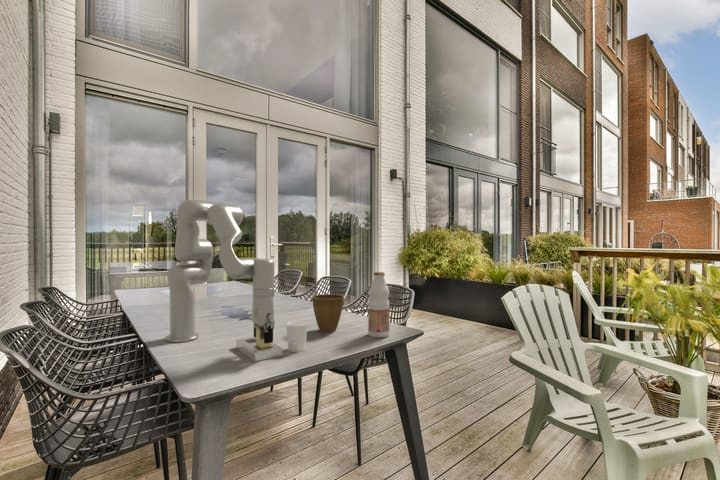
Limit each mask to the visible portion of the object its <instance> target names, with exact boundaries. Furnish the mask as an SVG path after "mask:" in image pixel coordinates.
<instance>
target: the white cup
mask: <svg viewBox="0 0 720 480" xmlns="http://www.w3.org/2000/svg"><path fill="white" fill-rule="evenodd" d="M285 327H286V341H287V351H289V352H291V353H292V352H293V353H298V352H303V351H305V350H306V347H307V346H306V345H307V336H308V335H307V334H308V333H307V332H308V322H306V321H302V320H297V321H295V320H294V321H289V322H287V323H286V326H285Z"/></svg>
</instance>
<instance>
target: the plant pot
mask: <svg viewBox="0 0 720 480" xmlns="http://www.w3.org/2000/svg"><path fill="white" fill-rule="evenodd" d="M344 301H345V296H344V295H340V294H328V293H327V294H316V295H312V298H311V302H312V308H313V313H314V317H315V321H316V323H317V326H318V330H319V331H320V332H321V333H334V332H336V330H337V328H338V325H339V322H340V319H341V315H342V311H343V306H344Z"/></svg>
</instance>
